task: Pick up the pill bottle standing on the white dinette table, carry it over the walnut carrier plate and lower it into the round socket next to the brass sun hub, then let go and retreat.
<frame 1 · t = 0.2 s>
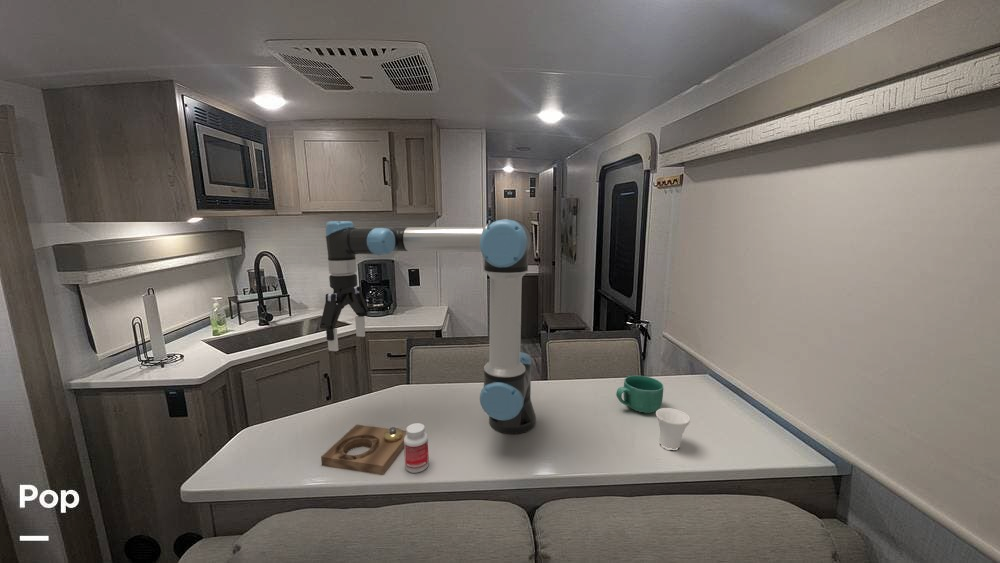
hand: (347, 343, 112), 28 cm above the table, fingers open, 13 cm apart
carrier plate: (368, 451, 104), on the table
cup: (669, 447, 106), on the table
mug: (636, 409, 127), on the table
pill bottle: (417, 466, 98), on the table
sun hub: (393, 437, 106), resting on carrier plate
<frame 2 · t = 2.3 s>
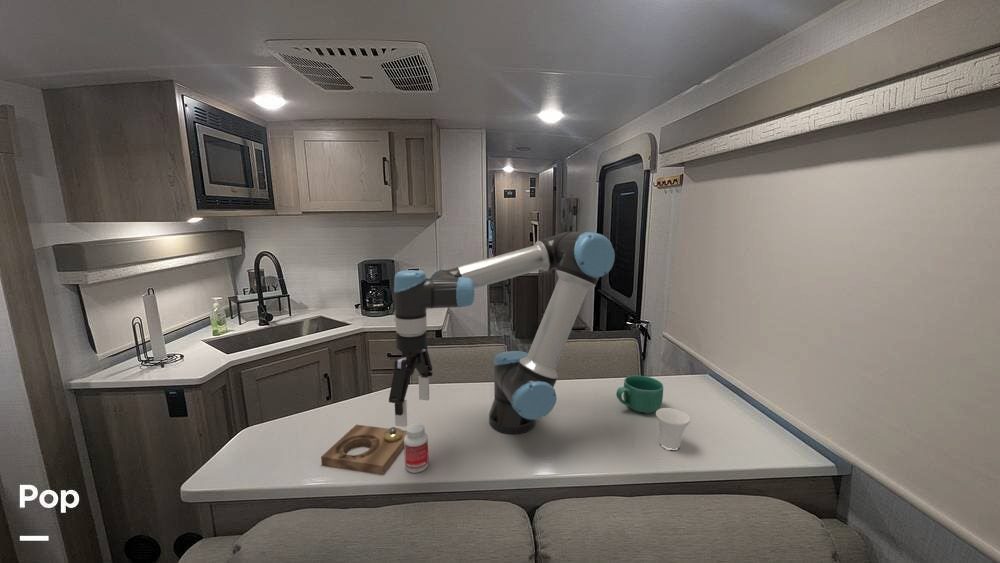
hand: (413, 411, 95), 16 cm above the table, fingers open, 13 cm apart
nothing on the table moved.
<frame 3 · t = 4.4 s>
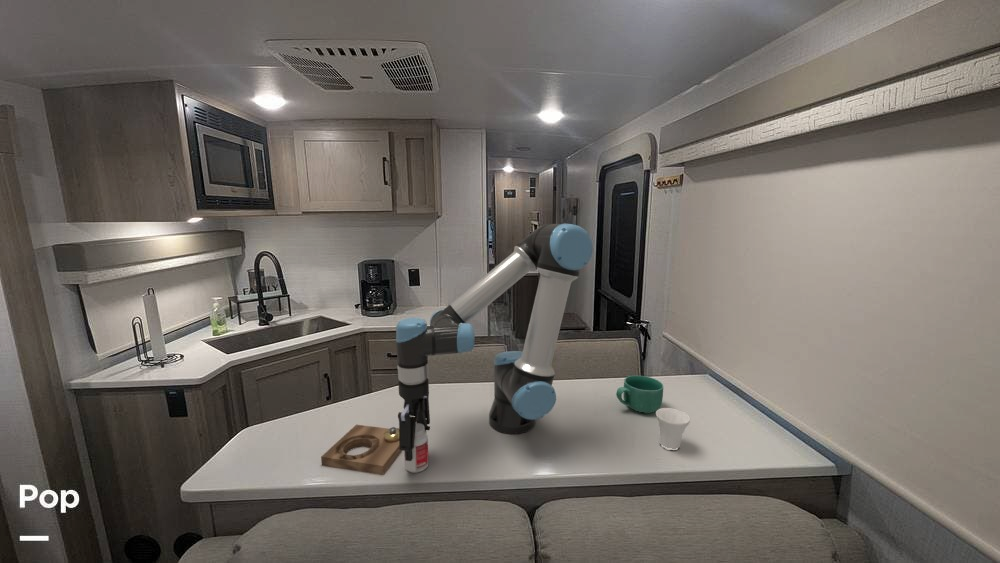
hand: (416, 460, 97), 1 cm above the table, fingers closed on pill bottle, 6 cm apart
pill bottle: (417, 466, 98), on the table, touching gripper
everything else where it was.
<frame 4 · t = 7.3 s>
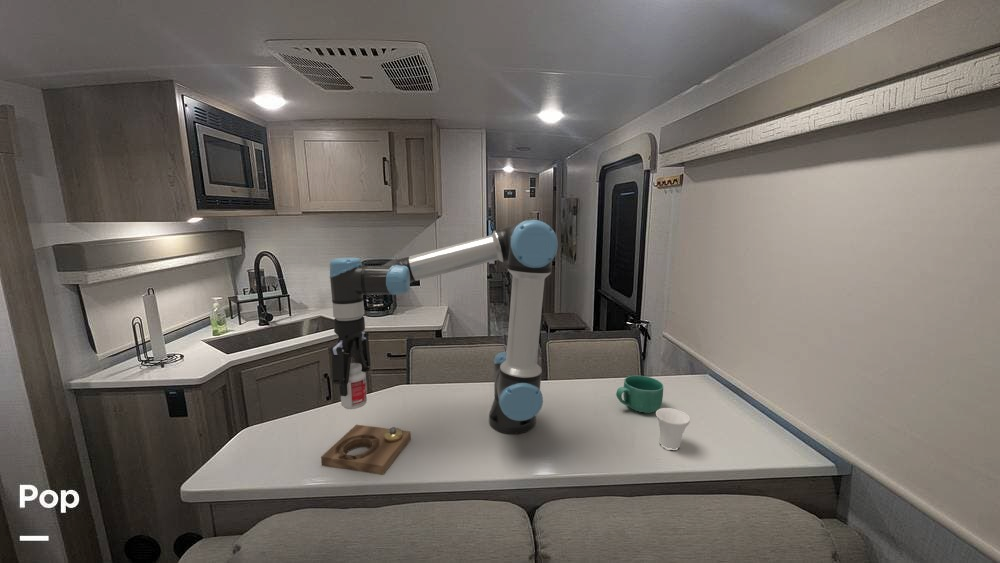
hand: (354, 399, 100), 17 cm above the table, fingers closed on pill bottle, 6 cm apart
pill bottle: (354, 405, 100), point 15 cm above the table, touching gripper
everything else where it was.
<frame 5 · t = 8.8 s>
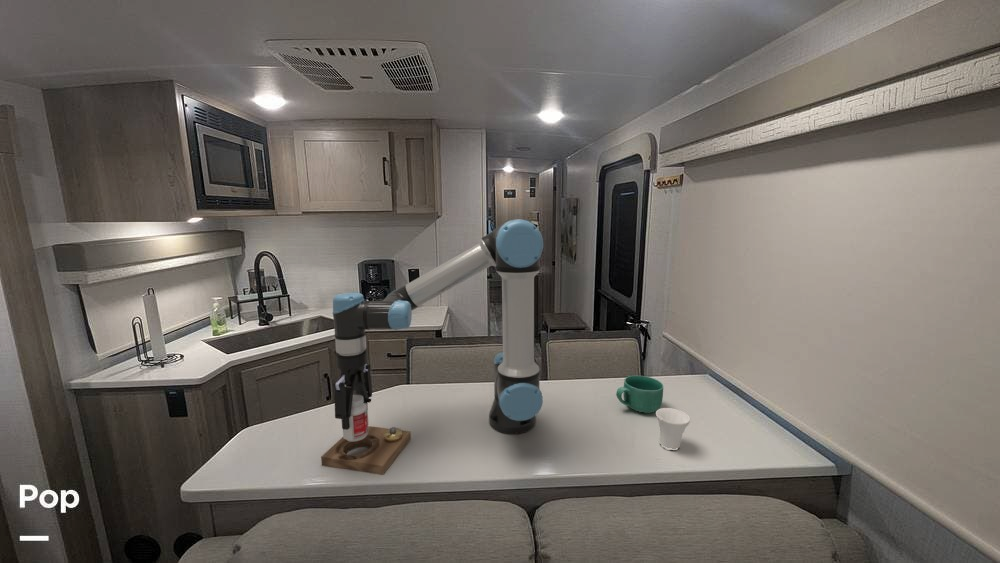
hand: (356, 431, 101), 7 cm above the table, fingers closed on pill bottle, 6 cm apart
pill bottle: (356, 436, 101), point 6 cm above the table, touching gripper
everything else where it was.
when the fingers open (5 cm above the table, at t = 10.0 s): pill bottle drops 3 cm, resting in carrier plate.
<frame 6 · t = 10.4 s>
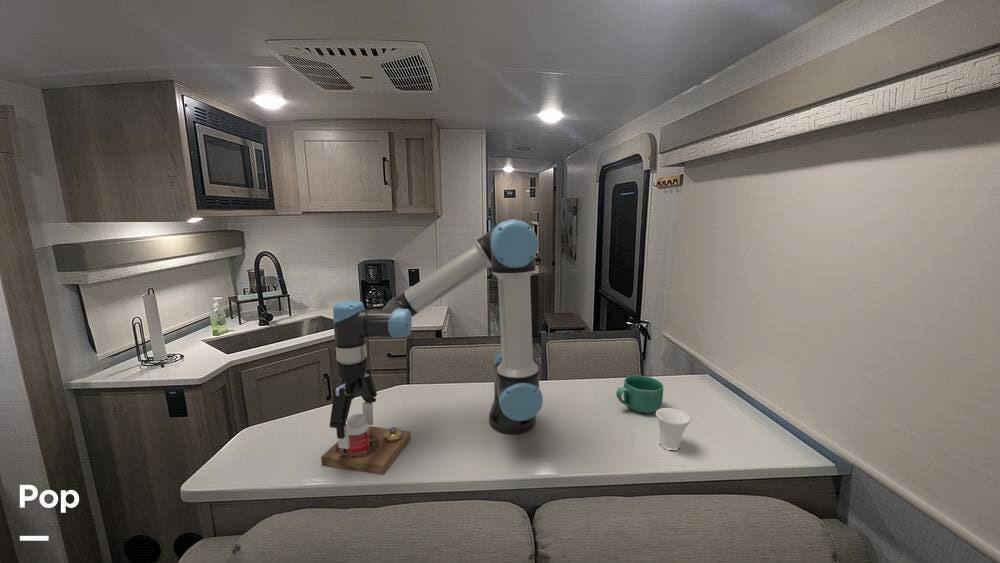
hand: (357, 435, 101), 6 cm above the table, fingers open, 11 cm apart
pill bottle: (358, 455, 102), resting in carrier plate
everything else where it was.
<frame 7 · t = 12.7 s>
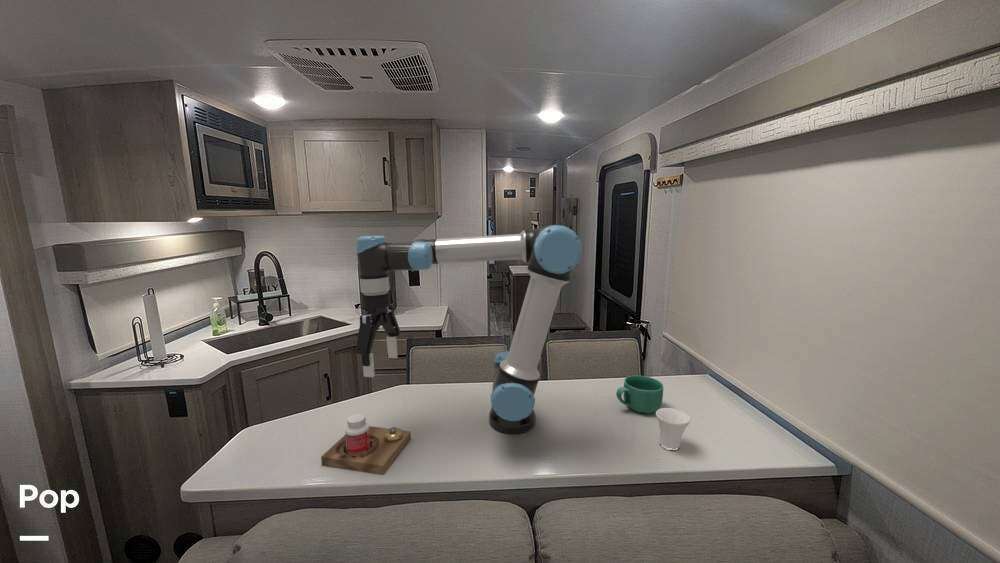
hand: (381, 366, 103), 24 cm above the table, fingers open, 13 cm apart
nothing on the table moved.
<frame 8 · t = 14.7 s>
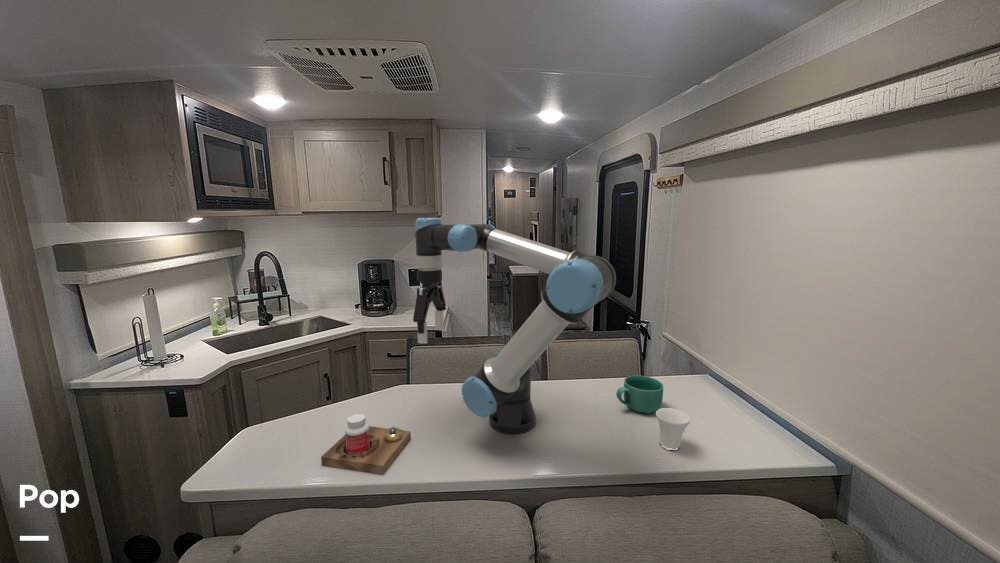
hand: (431, 336, 115), 29 cm above the table, fingers open, 13 cm apart
nothing on the table moved.
at the end: pill bottle 0.2 cm from the target spot in the carrier plate, point 0.0 cm above the carrier plate's base; pill bottle tilted 0°; the gripper is holding nothing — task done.
